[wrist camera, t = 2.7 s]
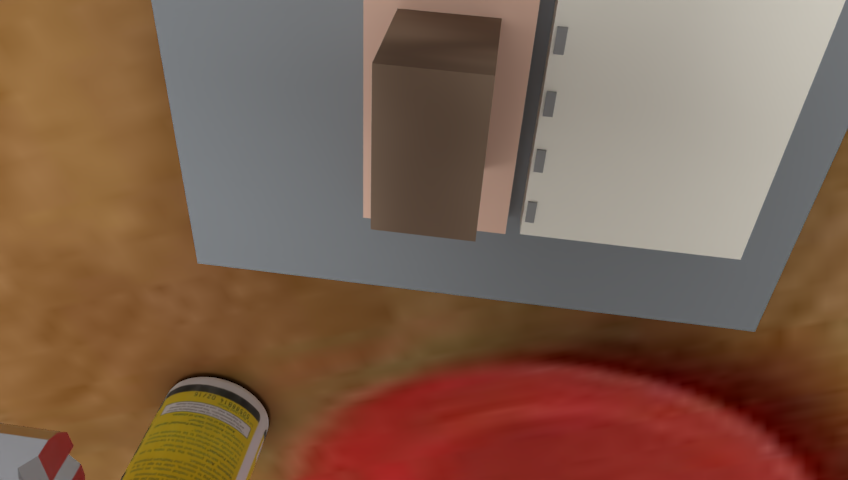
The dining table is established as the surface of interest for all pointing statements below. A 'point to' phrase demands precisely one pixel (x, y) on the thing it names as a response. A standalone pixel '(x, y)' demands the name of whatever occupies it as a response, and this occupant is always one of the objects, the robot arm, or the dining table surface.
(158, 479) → the supplement bottle
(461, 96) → the brown and pink block
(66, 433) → the robot arm
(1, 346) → the dining table surface
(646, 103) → the board
